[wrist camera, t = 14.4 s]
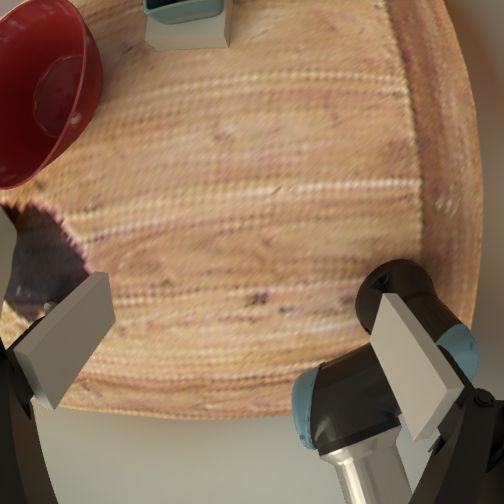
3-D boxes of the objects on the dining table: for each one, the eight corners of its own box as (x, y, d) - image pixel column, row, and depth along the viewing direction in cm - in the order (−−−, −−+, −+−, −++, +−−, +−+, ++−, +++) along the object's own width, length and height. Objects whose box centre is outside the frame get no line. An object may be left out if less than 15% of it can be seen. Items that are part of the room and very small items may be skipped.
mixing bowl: (101, 196, 45) (45, 220, 30) (1, 152, 42) (-53, 162, 27) (164, 35, 36) (125, -3, 21) (46, 20, 32) (-4, 1, 18)
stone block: (234, -9, 33) (230, -27, 27) (228, 48, 36) (223, 34, 31) (166, -4, 33) (155, -20, 27) (157, 51, 37) (144, 40, 31)
